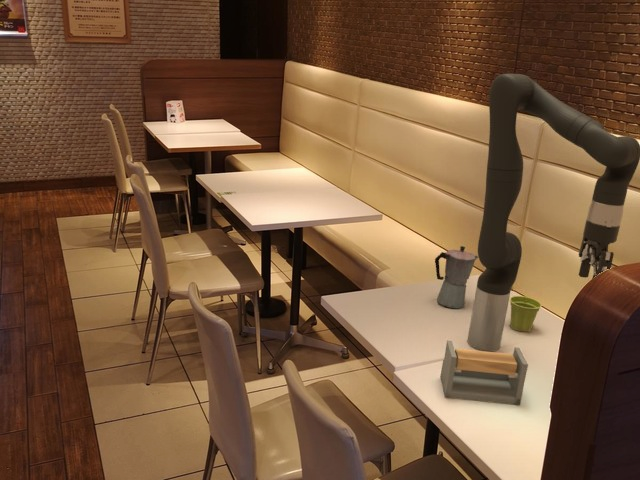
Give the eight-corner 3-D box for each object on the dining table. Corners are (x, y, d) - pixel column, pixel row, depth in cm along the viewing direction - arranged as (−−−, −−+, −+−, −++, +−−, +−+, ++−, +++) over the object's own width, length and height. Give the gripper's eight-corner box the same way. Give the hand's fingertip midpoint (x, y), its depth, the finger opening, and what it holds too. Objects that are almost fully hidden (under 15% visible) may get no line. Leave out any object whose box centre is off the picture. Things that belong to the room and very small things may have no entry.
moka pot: (477, 308, 207) (487, 250, 201) (437, 312, 201) (446, 252, 195) (461, 296, 215) (470, 240, 209) (422, 300, 210) (430, 242, 203)
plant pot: (512, 318, 202) (516, 293, 199) (540, 328, 196) (546, 302, 194) (499, 327, 195) (504, 301, 192) (529, 337, 189) (534, 311, 186)
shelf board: (453, 359, 158) (455, 348, 157) (510, 365, 157) (512, 354, 156) (456, 369, 153) (458, 358, 152) (515, 375, 152) (517, 364, 151)
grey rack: (440, 377, 163) (446, 338, 159) (510, 384, 162) (518, 345, 159) (445, 397, 154) (451, 356, 150) (519, 404, 153) (528, 364, 150)
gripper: (577, 210, 158) (564, 271, 163) (598, 227, 144) (583, 293, 149) (608, 213, 158) (594, 274, 163) (631, 230, 144) (615, 296, 149)
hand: (588, 283), depth 156 cm, fingers open, 8 cm apart
